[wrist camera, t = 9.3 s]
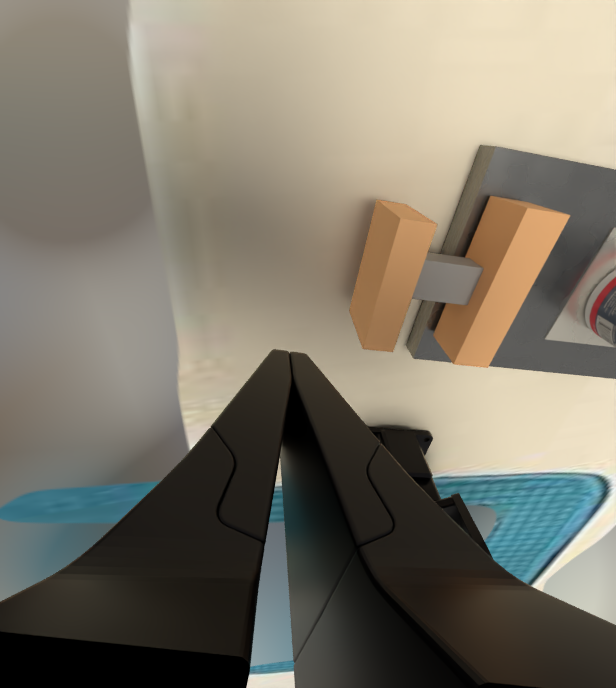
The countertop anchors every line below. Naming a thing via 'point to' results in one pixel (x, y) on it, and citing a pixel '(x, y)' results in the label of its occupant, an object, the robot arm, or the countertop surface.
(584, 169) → the silver frame
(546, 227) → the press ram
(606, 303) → the pill bottle
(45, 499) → the countertop surface
